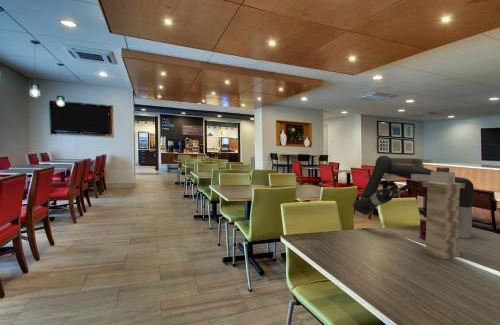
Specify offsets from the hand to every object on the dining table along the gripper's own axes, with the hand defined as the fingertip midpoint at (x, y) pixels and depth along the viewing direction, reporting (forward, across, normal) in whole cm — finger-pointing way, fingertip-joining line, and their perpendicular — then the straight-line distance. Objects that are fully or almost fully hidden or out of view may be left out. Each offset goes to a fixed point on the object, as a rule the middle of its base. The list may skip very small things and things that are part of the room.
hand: (403, 186), depth 144 cm
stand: (+3, 0, +36) cm, 36 cm away
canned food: (-13, +17, +27) cm, 34 cm away
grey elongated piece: (+14, 0, +4) cm, 15 cm away
